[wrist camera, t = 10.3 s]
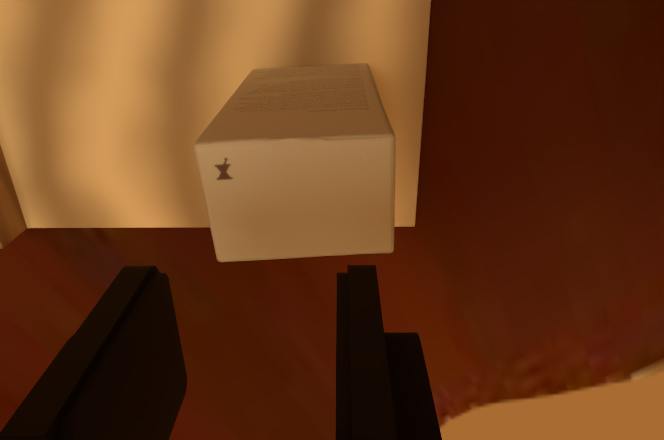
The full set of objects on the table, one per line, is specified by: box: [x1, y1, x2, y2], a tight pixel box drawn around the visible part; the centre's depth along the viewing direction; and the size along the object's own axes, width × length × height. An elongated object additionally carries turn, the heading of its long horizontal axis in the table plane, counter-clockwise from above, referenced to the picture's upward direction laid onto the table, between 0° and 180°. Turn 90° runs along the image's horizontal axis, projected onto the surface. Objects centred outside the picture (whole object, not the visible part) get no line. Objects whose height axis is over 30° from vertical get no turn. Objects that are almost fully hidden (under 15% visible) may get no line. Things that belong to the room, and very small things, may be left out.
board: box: [0, 0, 431, 248], centre depth 26 cm, size 24×14×4 cm, turn 91°
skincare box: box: [193, 63, 396, 262], centre depth 21 cm, size 6×4×12 cm
